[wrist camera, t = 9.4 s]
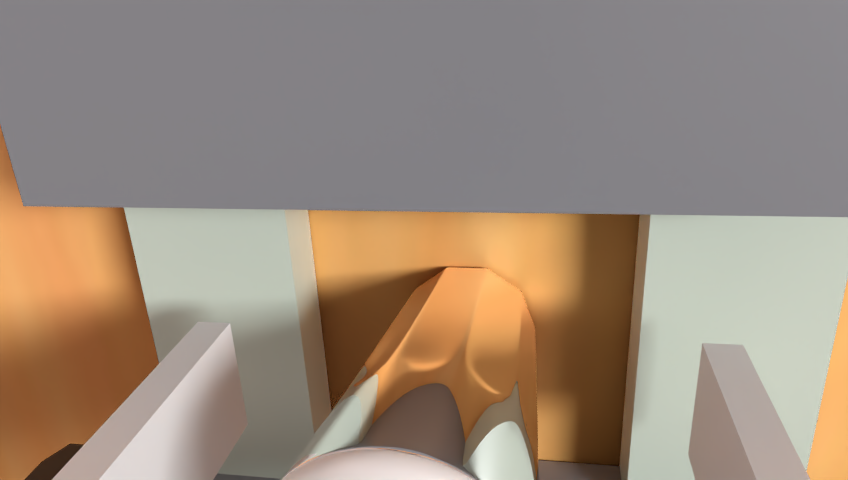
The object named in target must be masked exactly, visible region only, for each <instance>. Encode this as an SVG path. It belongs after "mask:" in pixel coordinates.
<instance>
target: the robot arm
mask: <svg viewBox="0 0 848 480" xmlns="http://www.w3.org/2000/svg"><path fill="white" fill-rule="evenodd" d="M247 425H248V422H247V416H246V411H245V405H244V399H243V393H242V388H241V382H240V376H239V371H238V365H237V359H236V354H235V348H234V342H233V337H232V331H231V325H230V323H219V322H197V323H196V324H195V325H194V327H193V328H192V329H191V330H190V331H189V332H188V333H187V334H186V335H185V336H184V337H183V338H182V340H181V341H180V342H179V343H178V344H177V345H176V346H175V347H174V348H173V349H172V350H171V351H170V352H169V354H168V355H167V356H166V357H165V358H164V359H163V360H162V361H161V362H160V363H159V364H158V365H157V367H156V368H155V369H154V370H153V371H152V372H151V373H150V374H149V375H148V376H147V377H146V378H145V379H144V381H143V382H142V383H141V384H140V385H139V386H138V387H137V388H136V389H135V390H134V391H133V392H132V394H131V395H130V396H129V397H128V398H127V399H126V400H125V401H124V402H123V403H122V404H121V405H120V406H119V408H118V409H117V410H116V411H115V412H114V413H113V414H112V415H111V416H110V417H109V418H108V419H107V421H106V422H105V423H104V424H103V425H102V426H101V427H100V428H99V429H98V430H97V431H96V432H95V434H94V435H93V436H92V437H91V438H90V439H89V440H88V441H87V442H86V443H85V444H84V445H80V444H69V445H67V446H66V447H64V448H63V449H61V450H60V451H58V452H57V453H55V454H53V455H52V456H50V457H49V458H47V459H46V460H44V461H42V462H41V463H40V464H39V465H38V466H37V467H36V468H35V469H34V470H33V472H32V473H31V474H30V475H29V476H28V477H27V478H26V479H25V480H213V479H214V478H215V476H216V475H217V473H218V471H219V470H220V468H221V467H222V465H223V463H224V462H225V460H226V459H227V457H228V455H229V454H230V452H231V451H232V449H233V447H234V446H235V444H236V442H237V441H238V439H239V438H240V436H241V434H242V433H243V431H244V430H245V428H246V426H247ZM688 456H689V459H690V463H691V466H692V470H693V473H694V477H695V480H810V478H809V476H808V474H807V472H806V470H805V468H804V466H803V464H802V462H801V460H800V458H799V456H798V454H797V452H796V450H795V448H794V446H793V444H792V442H791V440H790V438H789V436H788V434H787V432H786V430H785V428H784V426H783V424H782V422H781V420H780V418H779V416H778V414H777V412H776V410H775V408H774V406H773V404H772V402H771V400H770V398H769V396H768V394H767V392H766V390H765V388H764V386H763V384H762V382H761V380H760V378H759V376H758V374H757V372H756V370H755V368H754V366H753V364H752V362H751V360H750V358H749V356H748V354H747V352H746V350H745V348H744V346H743V345H734V344H710V343H702V349H701V357H700V365H699V373H698V381H697V388H696V396H695V404H694V412H693V420H692V428H691V435H690V443H689V451H688Z"/></svg>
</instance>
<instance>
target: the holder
mask: <svg viewBox="0 0 848 480" xmlns="http://www.w3.org/2000/svg"><path fill="white" fill-rule="evenodd" d="M0 125H1V129H2V132H3V136H4V139H5V143H6V146H7V150H8V153H9V157H10V160H11V164H12V167H13V171H14V174H15V178H16V181H17V185H18V188H19V192H20V195H21V199H22V202H23V206H53V207H124V211H125V215H126V220H127V224H128V229H129V233H130V237H131V242H132V246H133V251H134V255H135V259H136V264H137V268H138V273H139V277H140V281H141V286H142V290H143V295H144V299H145V303H146V308H147V312H148V317H149V321H150V325H151V330H152V334H153V339H154V343H155V347H156V352H157V356H158V361H159V363H160V362H161V361H162V360H163V359H164V358H165V357H166V356H167V355H168V354H169V352H170V351H171V350H172V349H173V348H174V347H175V346H176V345H177V344H178V343H179V342H180V341H181V340H182V338H183V337H184V336H185V335H186V334H187V333H188V332H189V331H190V330H191V329H192V328H193V327H194V325H195V324H196V323H197V322H219V323H230V325H231V331H232V337H233V342H234V348H235V354H236V359H237V365H238V371H239V376H240V382H241V388H242V393H243V399H244V405H245V411H246V416H247V422H248V425H247V426H246V428H245V430H244V431H243V433H242V434H241V436H240V438H239V439H238V441H237V442H236V444H235V446H234V447H233V449H232V451H231V452H230V454H229V455H228V457H227V459H226V460H225V462H224V463H223V465H222V467H221V468H220V470H219V471H218V473H217V475H216V476H215V478H214V479H213V480H280V479H281V478H282V476H283V475H284V474H285V472H286V471H287V470H288V468H289V467H290V466H291V464H292V463H293V462H294V460H295V459H296V458H297V456H298V455H299V454H300V452H301V451H302V450H303V448H304V447H305V446H306V444H307V443H308V442H309V440H310V439H311V438H312V436H313V435H314V434H315V432H316V431H317V430H318V428H319V427H320V426H321V424H322V423H323V422H324V420H325V419H326V418H327V416H328V415H329V414H330V412H331V411H332V410H331V402H330V393H329V385H328V376H327V368H326V359H325V351H324V342H323V334H322V325H321V317H320V308H319V300H318V291H317V283H316V274H315V266H314V257H313V249H312V240H311V232H310V223H309V215H308V210H348V211H422V212H495V213H569V214H640V216H639V228H638V241H637V253H636V266H635V278H634V291H633V303H632V315H631V328H630V340H629V353H628V365H627V378H626V390H625V403H624V415H623V427H622V440H621V452H620V465H619V466H613V465H599V464H585V463H571V462H557V461H543V460H538V464H539V480H695V477H694V473H693V470H692V466H691V463H690V459H689V456H688V451H689V443H690V435H691V428H692V420H693V412H694V404H695V396H696V388H697V381H698V373H699V365H700V357H701V349H702V343H710V344H734V345H743V346H744V348H745V350H746V352H747V354H748V356H749V358H750V360H751V362H752V364H753V366H754V368H755V370H756V372H757V374H758V376H759V378H760V380H761V382H762V384H763V386H764V388H765V390H766V392H767V394H768V396H769V398H770V400H771V402H772V404H773V406H774V408H775V410H776V412H777V414H778V416H779V418H780V420H781V422H782V424H783V426H784V428H785V430H786V432H787V434H788V436H789V438H790V440H791V442H792V444H793V446H794V448H795V450H796V452H797V454H798V456H799V458H800V460H801V462H802V464H803V466H804V468H805V470H807V466H808V461H809V456H810V451H811V447H812V442H813V437H814V433H815V428H816V423H817V419H818V414H819V409H820V405H821V400H822V395H823V390H824V386H825V381H826V376H827V372H828V367H829V362H830V358H831V353H832V348H833V343H834V339H835V334H836V329H837V325H838V320H839V315H840V311H841V306H842V301H843V296H844V292H845V287H846V282H847V278H848V0H0Z"/></svg>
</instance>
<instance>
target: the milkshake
mask: <svg viewBox="0 0 848 480" xmlns="http://www.w3.org/2000/svg"><path fill="white" fill-rule="evenodd" d="M280 480H539V464H538V414H537V374H536V336H535V326H534V323H533V320H532V318H531V315H530V312H529V310H528V307H527V304H526V302H525V299H524V296H523V294H522V291H521V290H519V289H518V288H516V287H515V286H513V285H512V284H510V283H509V282H507V281H506V280H504V279H503V278H501V277H500V276H498V275H497V274H495V273H494V272H492V271H491V270H489V269H488V268H454V267H447V268H445V269H444V270H443V271H441V272H440V273H438V274H437V275H435V276H434V277H432V278H431V279H429V280H428V281H426V282H425V283H423V284H422V285H420V286H419V287H417V288H416V289H415V290H414V292H413V293H412V295H411V296H410V298H409V299H408V300H407V302H406V303H405V305H404V306H403V308H402V309H401V311H400V312H399V314H398V315H397V316H396V318H395V319H394V321H393V322H392V324H391V325H390V327H389V328H388V330H387V331H386V333H385V334H384V335H383V337H382V338H381V340H380V341H379V343H378V344H377V346H376V347H375V349H374V350H373V351H372V353H371V354H370V356H369V357H368V359H367V360H366V362H365V363H364V365H363V366H362V368H361V369H360V371H359V372H358V374H357V375H356V376H355V378H354V379H353V381H352V382H351V384H350V385H349V387H348V388H347V390H346V391H345V393H344V394H343V396H342V397H341V399H340V400H339V401H338V403H337V404H336V405H335V407H334V408H333V410H332V411H331V412H330V414H329V415H328V416H327V418H326V419H325V420H324V422H323V423H322V424H321V426H320V427H319V428H318V430H317V431H316V432H315V434H314V435H313V436H312V438H311V439H310V440H309V442H308V443H307V444H306V446H305V447H304V448H303V450H302V451H301V452H300V454H299V455H298V456H297V458H296V459H295V460H294V462H293V463H292V464H291V466H290V467H289V468H288V470H287V471H286V472H285V474H284V475H283V476H282V478H281V479H280Z"/></svg>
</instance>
